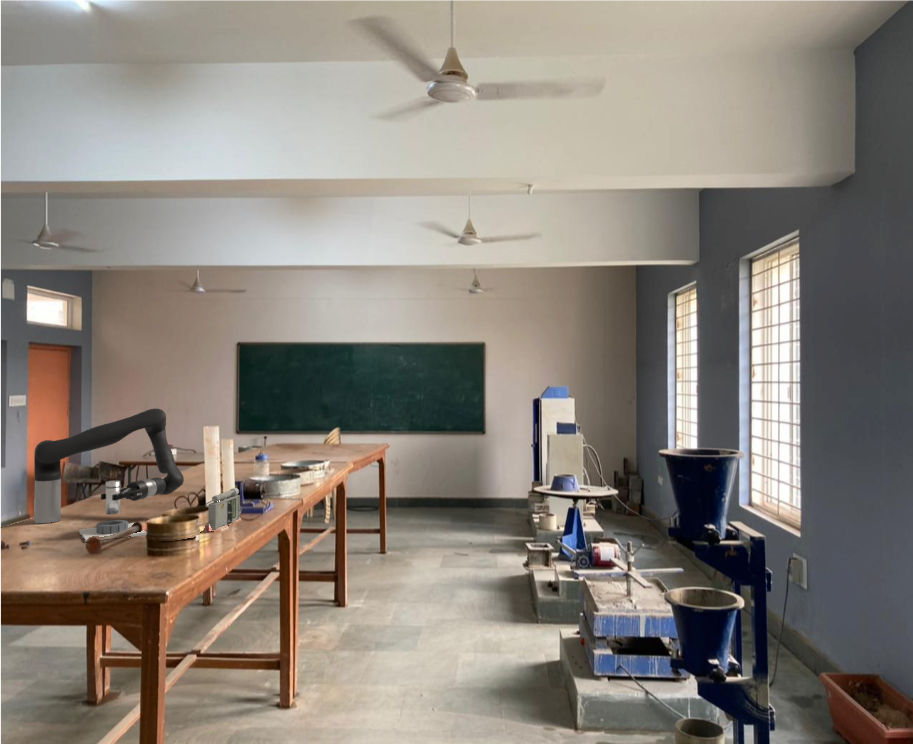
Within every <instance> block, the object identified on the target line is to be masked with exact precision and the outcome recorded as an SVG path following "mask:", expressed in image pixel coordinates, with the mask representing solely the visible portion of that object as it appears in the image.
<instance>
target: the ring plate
mask: <svg viewBox="0 0 913 744" xmlns="http://www.w3.org/2000/svg"><path fill="white" fill-rule="evenodd" d="M134 523H135V522H130V523H129V521H128V520H124V519H115V520H114V519H113V520H110V519H109V520H106V521H105V520H104V521H100V522H97V523H96V527H88V528H80V529H79V528H78V533H79V534H80V536H81V535H82V536H81V538H84V539H85V540H84V539H83V540H84V542H86V540H87V539H88V538H89V537H92V536H99V537H104V536H110V535H113V534H116V533H118V532H120V531H124V530H126V529H128V528H129V527H131V526H132V525H133V524H134ZM130 536H131V537H130V538H133V537H134V538H135V537H140V536H142V537H143V536H147V532H146V530H144V529H143V531H141V532H137V533H133V534H131V535H130Z"/></svg>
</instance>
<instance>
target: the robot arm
mask: <svg viewBox="0 0 913 744" xmlns="http://www.w3.org/2000/svg"><path fill="white" fill-rule="evenodd" d="M166 426H167V415H166V412H165V411H164V410H163V409H160V408H150V409H147V410H144V411H141V412H139V413H137V414H134V415H132V416H128V417H125V418H121V419H118V420H115V421H112V422H107V423H104V424H100V425H97V426H94V427H91V428H88V429H86V430H84V431H82V432H79V433H77V434H75V435H73V436H70V437H67V438H66V437H65V438H62V439H57V440H51V439H46V440H42V441H41V442H39V443H38V444H37V445H36V446H35V448H34V452H33V453H34V459H33V460H34V461H33V462H34V464H33V465H34V470H33V471H34V498H33V521H34V524H35V525H36V524H52V523H56V522H59V521H61V520H62V517H61V516H62V486H61V485H62V471H61V470H62V469H61V468H62V467H61V460H63V459H66V458H68V457H71V456H73V455H76V454H81V453H84V452H85V453H86V452H89V451H90V452H91V451H93V450H99V449H100V448H105V447H108V446H111V445H115V444H116V443H118V442H120V441H121V440H123V439H124V438H126V437H127V436H129V435H130V434H133V433H134V432H136V431H139V430H143V429H144V430H145V432H146V433H147V436H148V437H149V440H150V442H151V445H152V448H153V453H154V457H155V461H156V466H157V469H158V472H159V473H160V474H167V475H166V476H165V477H164V478H162V477H153V478H147V479H146V478H145V479H141V480H136V481H131V482H129V483H128V484H127V485H126V487H125V486H124V487H120V493H118V494H114V495H112V500H114V501H115V500H119V499H120V500H130V501H133V502H135V501H139V500H144V499H147V498H151V497H153V496H157V495H161V496H165V495H170V494H172V493H173V492H174V493H175V491H176V490H177V489H178V488H180V487H181V486H183V484H184V481H185V480H184V479H185V478H184V475H183V473H182V472H181V470H180V468H179V467H178V466H177V465H176V461H175V458H174V455H173V451H172V449H171V447H170V445H169V443H168V440H167V435H166V434H167V433H166V432H167V431H166ZM100 499H101V500H102V501H103V500H106V492H104V493H101V494H100ZM51 522H52V523H51Z"/></svg>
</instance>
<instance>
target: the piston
mask: <svg viewBox="0 0 913 744" xmlns="http://www.w3.org/2000/svg"><path fill="white" fill-rule="evenodd" d="M104 489H105V493H106V499H105V515H117V514H120V513H121V499H119V500H115V501H114V500H112V495H114V494H118V493H120V489H121V480H108V481H105V488H104Z"/></svg>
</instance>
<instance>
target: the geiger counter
mask: <svg viewBox="0 0 913 744" xmlns="http://www.w3.org/2000/svg"><path fill="white" fill-rule="evenodd" d="M239 492H240V490H239V489H238V488H237V487H233V488H231V489H229V490H227V491H224V492H221V493H219V495H218V494H216V495H213V496H212V497H211V500H210V501H208V502H206V503H205V504H204V506H205V507H207V508H208V523H207V524H210V526H211V528H212V530H216V529H218V528H219V527H222V526H225V525H229V524H231V523H233V522H234V521H236V520H238V519H239V520H240V515H241V514H242V506H241V504H240V503H241V502H240V496H241V495H240V494H239ZM238 494H239V495H238ZM219 500H220V502H219ZM217 501H218V502H217Z"/></svg>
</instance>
